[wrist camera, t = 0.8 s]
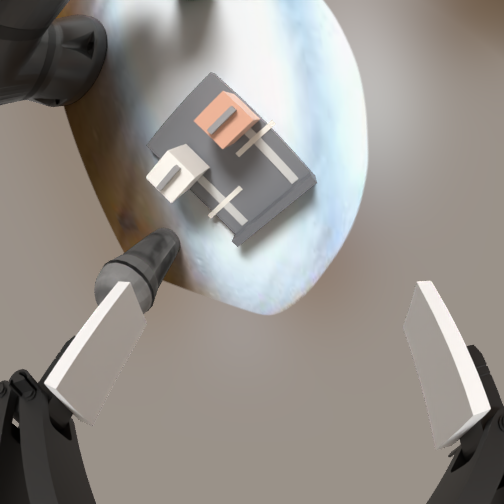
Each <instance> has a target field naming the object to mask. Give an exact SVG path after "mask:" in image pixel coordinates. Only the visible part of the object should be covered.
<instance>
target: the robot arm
mask: <svg viewBox="0 0 504 504" xmlns="http://www.w3.org/2000/svg"><path fill="white" fill-rule="evenodd" d="M69 1H70V0H0V105H3V104H7V103H12V102H17V101H21V100H29V101H33V102H36V103H40V104H43V105H46V106H51V107H56V106H65V105H69V104H72V103H74V102H76V101H77V100H79V99H80V98H81V97H82V96H83V95H84V94H85V93H86V92H87V91H88V90H89V89H90V87H91V86H92V85H93V83H94V81H95V80H96V78H97V76H98V74H99V72H100V70H101V67H102V65H103V62H104V58H105V53H106V45H107V40H106V33H105V29H104V27H103V25H102V24H101V23H100V21H98V20H97V19H95V18H93V17H89V16H85V15H72V16H67V17H62V18H57V19H55V18H56V17H57V16H58V14H59V13H60V12H61V10H62V9H63V8H64V7H65V5H66V4H67V3H68V2H69ZM146 325H147V322H146V320H145V317H144V315H143V312H142V310H141V308H140V305H139V303H138V300H137V298H136V295H135V293H134V290H133V288H132V285H131V282H119V281H118V283H117V284H116V285H115V286H114V287H113V289H112V290H111V291H110V292H109V294H108V295H107V296H106V297H105V299H104V300H103V301H102V302H101V304H100V305H99V306H98V308H97V309H96V310H95V311H94V313H93V314H92V316H91V317H90V318H89V319H88V321H87V322H86V323H85V325H84V326H83V327H82V329H81V330H80V331H79V333H78V334H77V335H76V336H74V337H72V338H71V339H70V340H69V341H67V342H66V344H65V345H64V346H63V348H62V349H61V352H60V353H58V355H57V356H56V359H54V361H53V362H52V364H51V365H50V366H49V368H48V369H47V371H46V372H45V374H44V375H43V377H42V378H41V380H40V381H39V383H37V382H36V381H35V380H34V378H33V377H32V376H31V375H30V374H29V372H28V371H27V370H24V369H22V370H18V371H16V372H15V373H14V374H13V375H12V376H11V378H10V380H9V382H8V381H2V382H0V504H96V502H95V499H94V497H93V494H92V491H91V488H90V485H89V482H88V478H87V475H86V472H85V468H84V464H83V461H82V457H81V453H80V449H79V445H78V440H77V435H76V430H75V425H74V422H73V419H72V418H71V416H72V414H74V415H75V416H76V417H77V418H78V419H79V420H80V421H82V422H84V423H86V424H89V425H91V426H93V424H94V422H95V420H96V418H97V416H98V414H99V412H100V410H101V408H102V406H103V404H104V402H105V400H106V398H107V396H108V394H109V392H110V391H111V389H112V387H113V385H114V383H115V381H116V379H117V377H118V375H119V374H120V372H121V370H122V368H123V366H124V364H125V362H126V361H127V359H128V357H129V355H130V353H131V352H132V350H133V348H134V346H135V344H136V343H137V341H138V339H139V337H140V335H141V334H142V332H143V330H144V328H145V327H146ZM403 330H404V332H405V335H406V339H407V341H408V344H409V348H410V351H411V354H412V357H413V360H414V363H415V367H416V370H417V373H418V376H419V380H420V384H421V388H422V391H423V395H424V399H425V403H426V407H427V411H428V416H429V421H430V425H431V430H432V435H433V440H434V446H435V450H438V449H442V448H445V447H448V446H451V445H453V444H454V443H455V442H456V441H458V440H459V439H460V442H461V445H460V446H459V447H457V448H456V449H455V450H453V451H452V452H451V453H450V455H449V456H448V457H451V456H453V455H454V454H455V455H454V457H453V459H452V461H451V463H450V465H449V467H448V469H447V470H446V472H445V474H444V476H443V478H442V479H441V481H440V483H439V485H438V486H437V488H436V489H435V491H434V493H433V494H432V496H431V498H430V499H429V501H428V502H427V503H426V504H504V406H503V404H502V401H501V399H500V396H499V393H498V390H497V388H496V386H495V383H494V381H493V378H492V376H491V375H490V371H489V369H488V366H486V362H485V360H484V358H483V356H482V353H481V352H480V351H479V350H478V349H477V348H476V347H475V346H474V345H470V346H466V345H465V343H464V341H463V339H462V337H461V335H460V333H459V331H458V329H457V327H456V325H455V323H454V321H453V319H452V317H451V315H450V313H449V311H448V310H447V308H446V306H445V304H444V302H443V301H442V299H441V297H440V295H439V293H438V292H437V290H436V288H435V287H434V285H433V283H432V282H431V281H418V282H417V283H416V286H415V290H414V293H413V297H412V300H411V304H410V306H409V310H408V313H407V316H406V319H405V322H404V325H403ZM13 418H14V419H15V420H16V421H17V422H18V423H19V427H18V428H17V427H16V426H15V425H14V424H12V420H13Z"/></svg>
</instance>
